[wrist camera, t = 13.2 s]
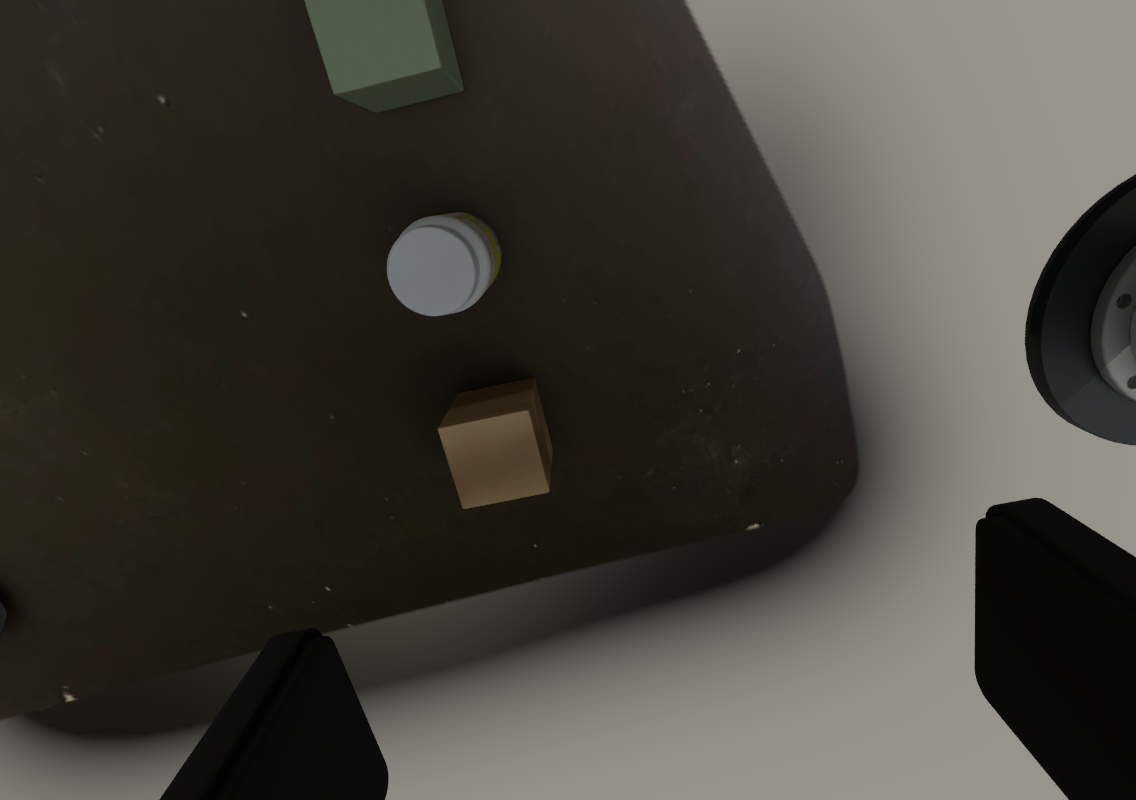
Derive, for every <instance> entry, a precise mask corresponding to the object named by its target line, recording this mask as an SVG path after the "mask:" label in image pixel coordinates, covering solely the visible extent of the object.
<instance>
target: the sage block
mask: <svg viewBox="0 0 1136 800" xmlns="http://www.w3.org/2000/svg"><path fill="white" fill-rule="evenodd" d="M304 2H305V5H306V8H307V11H308V14H309V18H310V21H311V24H312V27H313V30H314V33H315V37H316V40H317V43H318V46H319V49H320V52H321V56H322V59H323V62H324V65H325V68H326V72H327V75H328V78H329V81H330V84H331V87H332V91H333V94H334V95H336V96H338V97H341V98H343V99H345V100H347V101H350V102H352V103H354V104H357V105H359V106H361V107H363V108H366V109H368V110H370V111H373V112H375V113H379V112H383V111H387V110H391V109H395V108H399V107H403V106H407V105H411V104H415V103H418V102H422V101H426V100H430V99H434V98H438V97H442V96H446V95H450V94H454V93H458V92H462V91H464V87H463V83H462V79H461V75H460V71H459V67H458V63H457V59H456V55H455V51H454V47H453V43H452V39H451V34H450V30H449V26H448V22H447V18H446V14H445V10H444V6H443V2H442V0H304Z"/></svg>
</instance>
